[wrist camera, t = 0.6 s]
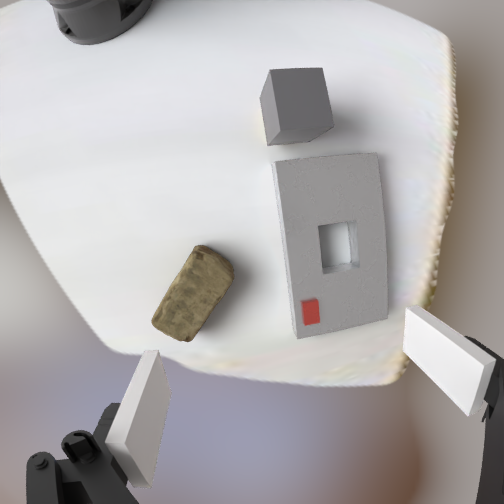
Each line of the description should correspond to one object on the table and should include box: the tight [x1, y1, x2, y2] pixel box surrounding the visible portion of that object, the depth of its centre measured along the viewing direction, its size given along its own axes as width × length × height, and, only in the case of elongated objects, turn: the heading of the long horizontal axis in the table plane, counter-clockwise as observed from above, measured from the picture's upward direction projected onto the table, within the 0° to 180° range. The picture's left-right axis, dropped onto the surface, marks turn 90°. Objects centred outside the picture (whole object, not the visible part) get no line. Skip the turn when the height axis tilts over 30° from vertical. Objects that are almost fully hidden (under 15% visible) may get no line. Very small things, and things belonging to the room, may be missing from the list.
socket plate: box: [271, 153, 388, 339], centre depth 38 cm, size 22×13×4 cm, turn 8°
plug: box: [260, 68, 334, 146], centre depth 31 cm, size 6×5×12 cm
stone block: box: [152, 245, 234, 342], centre depth 37 cm, size 6×12×5 cm, turn 147°
